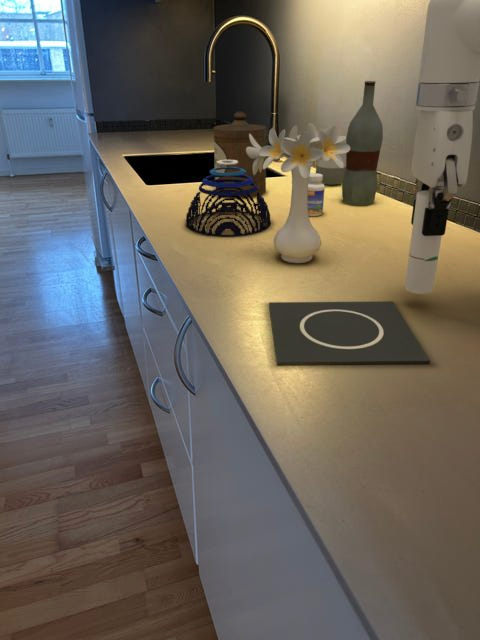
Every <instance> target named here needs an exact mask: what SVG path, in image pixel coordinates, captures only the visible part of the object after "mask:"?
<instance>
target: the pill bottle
mask: <svg viewBox="0 0 480 640" xmlns="http://www.w3.org/2000/svg"><path fill="white" fill-rule="evenodd" d="M322 180H323V175H322V174H318V173H316V172H312V173H311V172H310V175H309V180H308V216H309V217H319V216H321V215H323V212H324V200H325V187H326V186H324V184H323V183H321V181H322Z"/></svg>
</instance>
